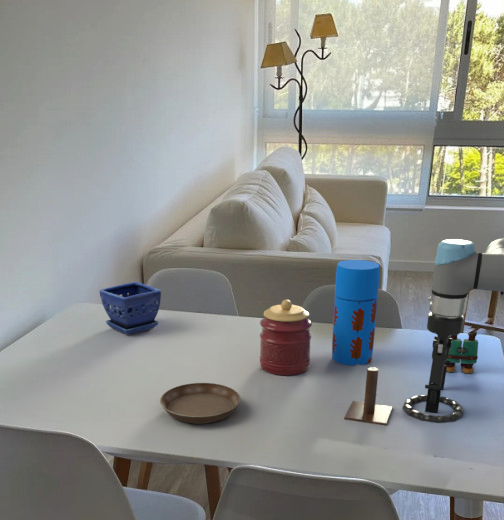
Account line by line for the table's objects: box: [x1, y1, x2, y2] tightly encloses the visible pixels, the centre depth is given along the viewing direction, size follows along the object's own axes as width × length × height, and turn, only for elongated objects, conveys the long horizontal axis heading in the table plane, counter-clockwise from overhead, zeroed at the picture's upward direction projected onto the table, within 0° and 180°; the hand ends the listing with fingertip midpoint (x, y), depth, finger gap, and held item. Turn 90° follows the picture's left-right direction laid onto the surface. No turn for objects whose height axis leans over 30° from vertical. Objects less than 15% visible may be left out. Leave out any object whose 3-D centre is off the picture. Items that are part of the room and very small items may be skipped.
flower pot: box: [99, 281, 162, 336], centre depth 206 cm, size 13×13×12 cm
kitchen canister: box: [259, 299, 313, 376], centre depth 178 cm, size 13×13×18 cm
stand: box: [343, 366, 394, 426], centre depth 152 cm, size 9×9×12 cm
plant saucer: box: [159, 382, 241, 425], centre depth 157 cm, size 18×18×3 cm
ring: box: [402, 394, 465, 424], centre depth 156 cm, size 13×13×2 cm
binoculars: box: [444, 330, 479, 374], centre depth 180 cm, size 9×11×10 cm
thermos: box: [331, 259, 381, 366], centre depth 182 cm, size 11×11×25 cm
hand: (434, 403), depth 161 cm, fingers open, 13 cm apart
